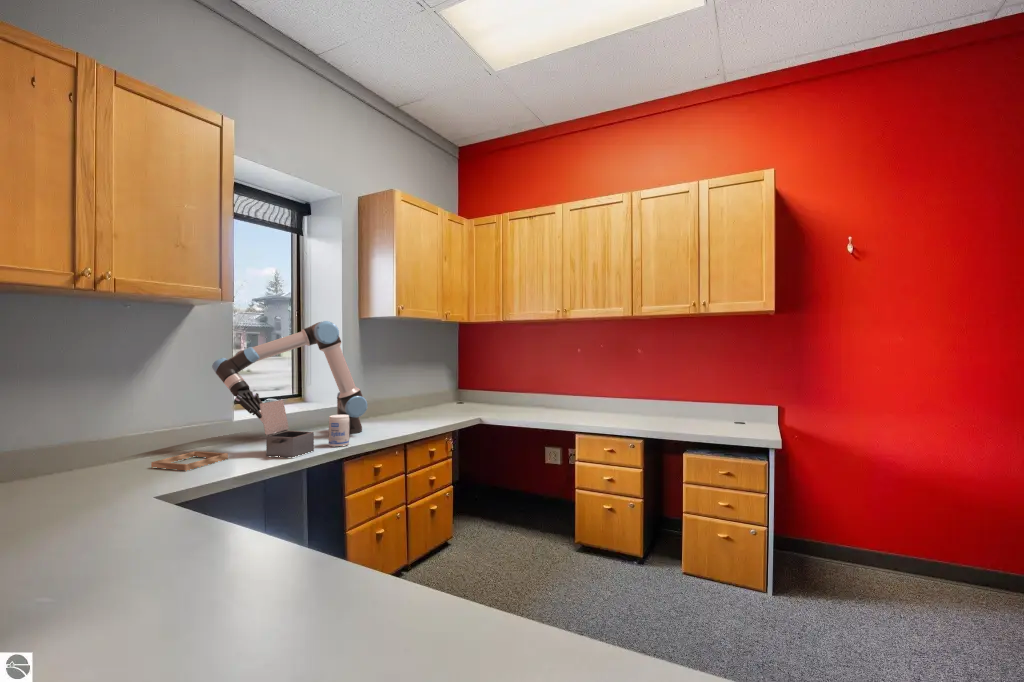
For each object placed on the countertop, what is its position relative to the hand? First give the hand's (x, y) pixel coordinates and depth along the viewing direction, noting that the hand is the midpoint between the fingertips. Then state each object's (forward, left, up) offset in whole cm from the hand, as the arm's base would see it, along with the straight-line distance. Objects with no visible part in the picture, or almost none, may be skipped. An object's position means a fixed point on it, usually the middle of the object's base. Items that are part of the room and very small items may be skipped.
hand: (266, 422), depth 223 cm
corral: (+25, -16, -14) cm, 33 cm away
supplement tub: (-21, +24, -14) cm, 35 cm away
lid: (0, +5, +2) cm, 5 cm away
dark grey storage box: (0, +13, -14) cm, 19 cm away
